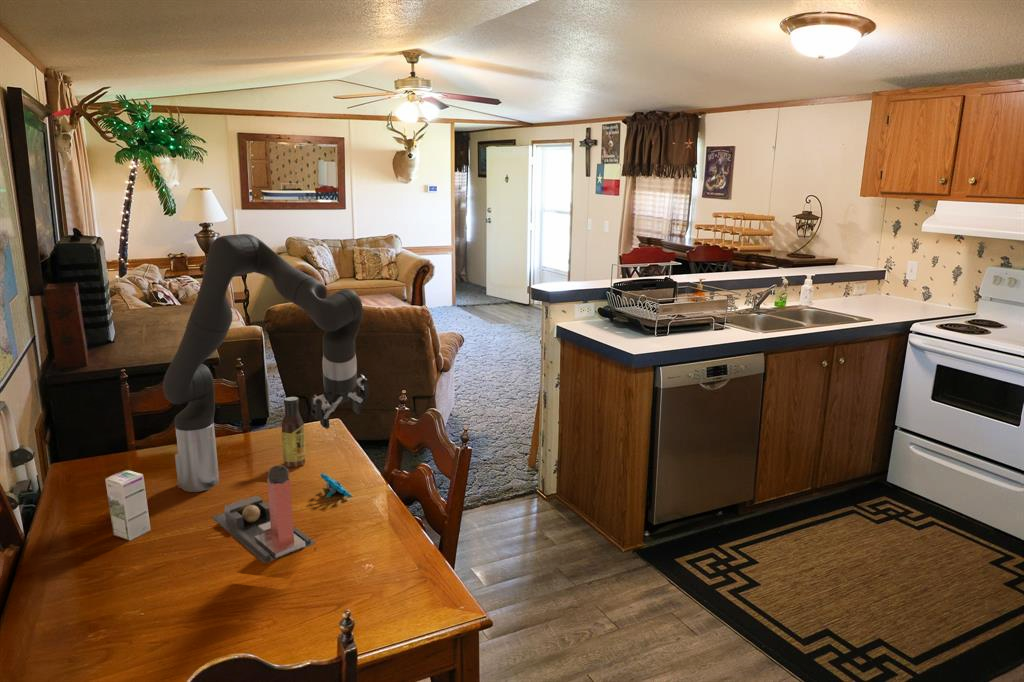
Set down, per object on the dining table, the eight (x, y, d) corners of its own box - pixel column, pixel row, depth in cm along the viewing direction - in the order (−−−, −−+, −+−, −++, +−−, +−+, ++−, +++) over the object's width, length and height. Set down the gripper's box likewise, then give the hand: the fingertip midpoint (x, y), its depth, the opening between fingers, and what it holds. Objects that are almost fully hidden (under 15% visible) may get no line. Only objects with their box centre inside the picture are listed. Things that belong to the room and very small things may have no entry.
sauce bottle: (302, 468, 192) (297, 402, 188) (280, 468, 193) (275, 402, 188) (309, 459, 199) (305, 395, 194) (288, 459, 199) (283, 395, 194)
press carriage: (254, 540, 151) (248, 461, 146) (284, 529, 156) (278, 452, 151) (275, 558, 144) (269, 475, 140) (305, 546, 149) (300, 466, 144)
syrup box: (151, 530, 158) (144, 473, 155) (128, 541, 153) (120, 483, 149) (135, 524, 160) (128, 468, 157) (111, 536, 155) (103, 478, 152)
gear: (358, 498, 172) (328, 476, 168) (343, 517, 170) (312, 496, 166) (348, 487, 181) (319, 466, 177) (333, 505, 180) (304, 484, 176)
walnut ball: (239, 524, 158) (238, 509, 157) (248, 516, 162) (247, 501, 161) (255, 526, 157) (253, 510, 156) (264, 518, 161) (262, 502, 160)
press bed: (212, 522, 162) (210, 503, 161) (260, 506, 170) (258, 488, 169) (265, 569, 143) (263, 548, 141) (316, 549, 151) (315, 528, 150)
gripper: (357, 348, 160) (357, 398, 169) (302, 371, 151) (306, 422, 161) (375, 365, 156) (374, 416, 165) (320, 389, 147) (323, 441, 157)
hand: (341, 419), depth 163 cm, fingers open, 8 cm apart
